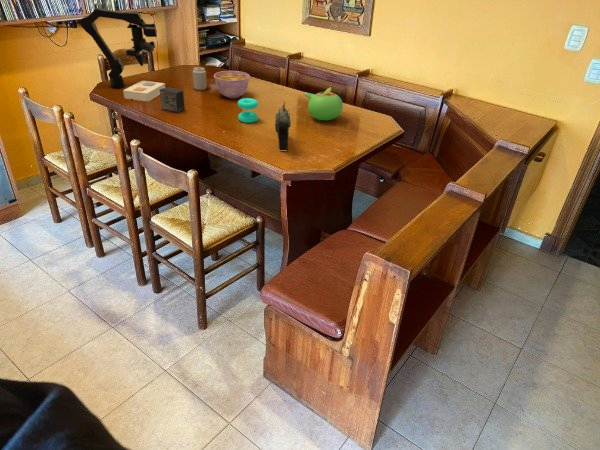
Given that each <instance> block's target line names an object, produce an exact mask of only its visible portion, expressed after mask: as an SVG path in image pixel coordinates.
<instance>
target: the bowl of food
mask: <svg viewBox="0 0 600 450" xmlns="http://www.w3.org/2000/svg"><path fill="white" fill-rule="evenodd" d="M250 76H251V75H250V74H249V73H247V72H244V71H239V70H224V71H217V72H215V73H214V74H213V78H214V81H215V86H216V89H217V91H218V92H219V93H220V94H221V95H222V96H224V97H226V98H229V99H237V98H240V97H241V96H243V95H244V94H246V92H247V90H248V85H249V81H250Z"/></svg>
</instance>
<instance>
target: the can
mask: <svg viewBox="0 0 600 450" xmlns="http://www.w3.org/2000/svg"><path fill="white" fill-rule="evenodd" d="M192 80H193V81H192V82H193V89H194V90H196V91H204V90H206V89H207V88H208V87H207V71H206V70H205V67H202V66H197V67H196V66H195V67H193V70H192Z"/></svg>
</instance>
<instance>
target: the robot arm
mask: <svg viewBox="0 0 600 450" xmlns="http://www.w3.org/2000/svg"><path fill="white" fill-rule="evenodd" d="M99 18H108V19H114V20H121V21H125V22H126V23H128V25H127V26H126V28H127V29H130V30H131V36H132V38H130V40H131V41H132V42H133V46H132V48H128V49H127V50H126V51H125V54H126V56H130V57H134V58H135V59H136V60H137V62H138V64H139V65H140V67H143V66H144V64H145V63H144V62H145V56H146V55H147V54H148V53H150V54H151V53H152V52H154V51H155V48H156V44H155V41H153V40H150V41H147V39H146V38H158V30H157V28H156V24H155V23H146V21H144V19H143V18H142V15H141V13H140V12H139V11H137V10H130V11H129V10H127V11H120V10H115V9H114V10H112V9H108V8H107V9H106V8H101V7H96V8H94V9H93V11H91V13H90V14H89V15H86V16H85V15H84V17H82V18H81V19H80V21H79V24H80V27H81V28H82V30H84V31H85V32H86V33H87V34H88V35H90V36H91V38H92V39H93V41H94V42H95V44H96V45H97V47H98V48H99V50H100V51H101V52H102V54H103V55H104V57H105V58H106V60H107V62H108V64H109V65H108V66H109V68H110V69H111V70H110V71H109V72H108V77H109V81H110V82H109V83H110V86H109V88H111V89H112V88H113V89H121V88H124V87H125V86H126V84H125V83H124V78H123V75H122V73H123V71H124V69H125V65H124V62H123V61H122V59H121V57H117V56H115V55H114V53H113V51H112V50H111V49H110V47H109V45H108V44H107V43H106V41H105V40H104V38H103V37H102V35H101V34H100V32H99V30H98V27H97V24H96V23H95V21H97V20H98V19H99ZM144 36H145V37H146V38H145V37H144ZM131 41H130V42H131Z"/></svg>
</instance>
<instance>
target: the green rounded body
mask: <svg viewBox="0 0 600 450" xmlns="http://www.w3.org/2000/svg"><path fill="white" fill-rule="evenodd" d="M332 89H333V88H332V87H331V86H330V87H328V88H327V89H326V90H325V91H321V92H317V93H316V94H315V93H311V92H310V93H309V92H304V93H303V95H304V96H305V97H306V98H307V99H309V100H308V104H307V110H308V112H309V114H310V116H312V117H313V118H314V119H316V120H319V121H331V120H334V119H337V117H339V116H340V115H341V113H342V111H343V108H344V105H343V103H344V102H343V100H342V98H341V97H340V96H339V95H338V94H336V93H334V92H332Z"/></svg>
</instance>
